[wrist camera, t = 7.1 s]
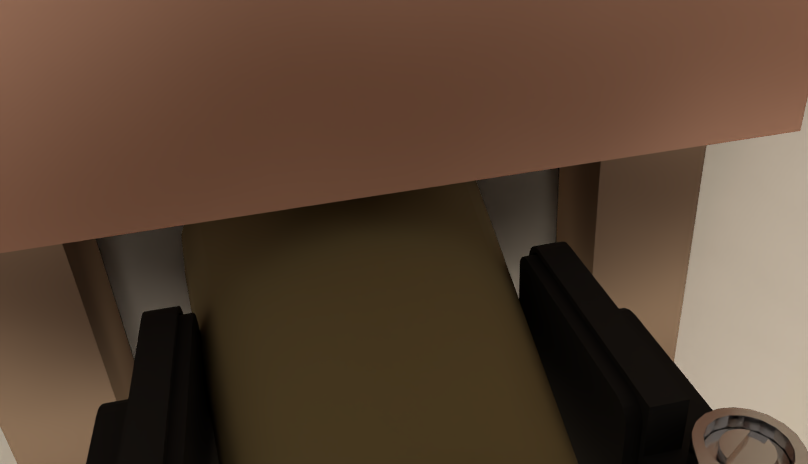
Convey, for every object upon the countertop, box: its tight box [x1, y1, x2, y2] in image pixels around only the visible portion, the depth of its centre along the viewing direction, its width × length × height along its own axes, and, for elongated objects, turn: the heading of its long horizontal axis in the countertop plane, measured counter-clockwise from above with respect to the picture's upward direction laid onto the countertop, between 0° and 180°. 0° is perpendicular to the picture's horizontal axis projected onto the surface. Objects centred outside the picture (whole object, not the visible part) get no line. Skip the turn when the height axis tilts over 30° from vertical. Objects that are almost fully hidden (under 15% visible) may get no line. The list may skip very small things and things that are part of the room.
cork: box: [181, 180, 578, 464], centre depth 10 cm, size 6×6×11 cm
